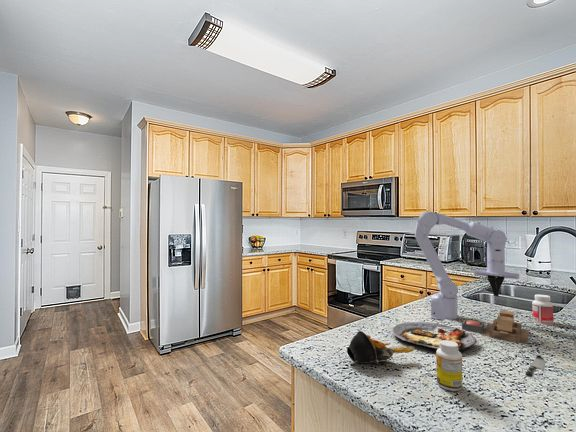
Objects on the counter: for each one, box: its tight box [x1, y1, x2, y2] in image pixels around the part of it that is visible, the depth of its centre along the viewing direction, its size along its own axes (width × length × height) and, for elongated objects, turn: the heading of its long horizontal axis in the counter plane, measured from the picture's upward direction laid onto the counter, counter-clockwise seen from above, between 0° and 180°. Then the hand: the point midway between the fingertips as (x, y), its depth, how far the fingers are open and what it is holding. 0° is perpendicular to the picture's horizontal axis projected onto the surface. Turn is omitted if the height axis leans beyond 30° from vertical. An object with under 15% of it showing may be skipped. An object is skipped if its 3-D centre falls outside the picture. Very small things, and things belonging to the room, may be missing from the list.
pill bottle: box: [531, 293, 555, 326], centre depth 118 cm, size 6×6×11 cm
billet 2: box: [496, 315, 513, 334], centre depth 104 cm, size 4×4×6 cm
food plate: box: [391, 321, 477, 351], centre depth 104 cm, size 25×23×4 cm
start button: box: [466, 319, 481, 326], centre depth 111 cm, size 4×4×3 cm
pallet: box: [482, 318, 530, 345], centre depth 107 cm, size 12×16×3 cm
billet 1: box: [498, 309, 515, 327], centre depth 111 cm, size 4×4×6 cm
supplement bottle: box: [435, 340, 463, 392], centre depth 75 cm, size 6×6×10 cm
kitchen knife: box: [525, 355, 546, 377], centre depth 85 cm, size 19×1×3 cm
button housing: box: [461, 319, 485, 334], centre depth 111 cm, size 6×6×3 cm
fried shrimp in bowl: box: [346, 330, 415, 365], centre depth 89 cm, size 9×11×18 cm
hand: (496, 295), depth 121 cm, fingers closed
